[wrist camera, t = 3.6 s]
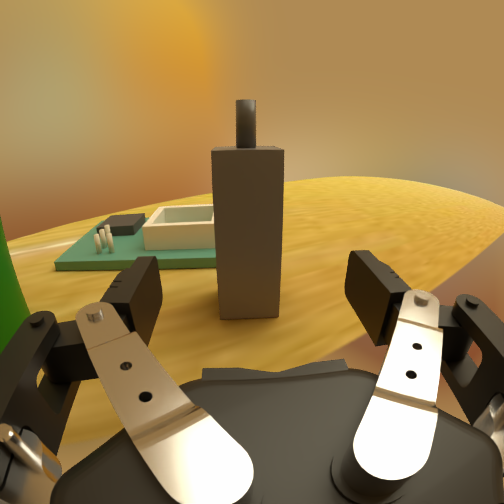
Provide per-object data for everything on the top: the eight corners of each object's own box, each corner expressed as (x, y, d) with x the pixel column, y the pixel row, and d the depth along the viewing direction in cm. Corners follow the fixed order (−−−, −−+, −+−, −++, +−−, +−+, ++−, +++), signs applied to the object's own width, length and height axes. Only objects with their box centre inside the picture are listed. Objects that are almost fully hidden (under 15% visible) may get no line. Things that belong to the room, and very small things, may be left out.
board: (56, 270, 26) (48, 239, 24) (103, 227, 39) (99, 204, 37) (244, 266, 27) (243, 230, 26) (239, 220, 40) (239, 195, 39)
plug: (220, 319, 20) (210, 97, 14) (221, 286, 24) (214, 105, 18) (278, 317, 20) (284, 97, 14) (270, 284, 24) (272, 104, 19)
